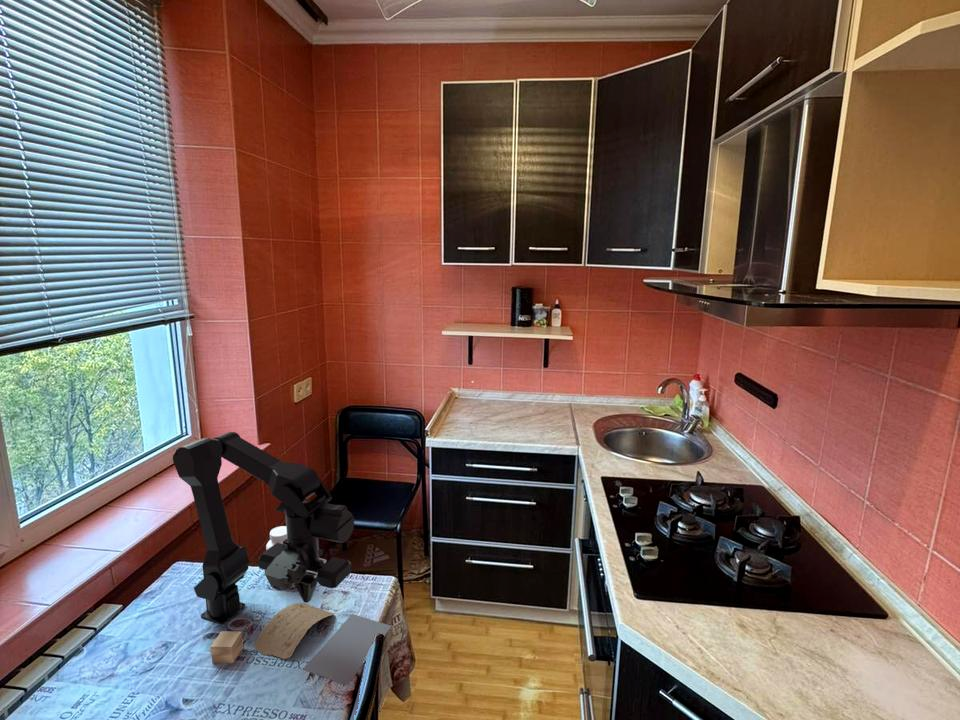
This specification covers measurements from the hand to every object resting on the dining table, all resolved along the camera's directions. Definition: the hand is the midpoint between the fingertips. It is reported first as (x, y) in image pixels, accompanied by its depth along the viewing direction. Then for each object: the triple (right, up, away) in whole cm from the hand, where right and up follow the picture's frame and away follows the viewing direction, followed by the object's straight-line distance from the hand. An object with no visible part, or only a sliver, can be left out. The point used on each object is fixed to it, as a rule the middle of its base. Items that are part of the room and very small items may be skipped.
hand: (307, 601), depth 100 cm
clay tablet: (+1, -9, +1) cm, 9 cm away
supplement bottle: (-13, -4, +20) cm, 24 cm away
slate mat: (+9, -9, -1) cm, 13 cm away
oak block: (-14, -9, -4) cm, 17 cm away
